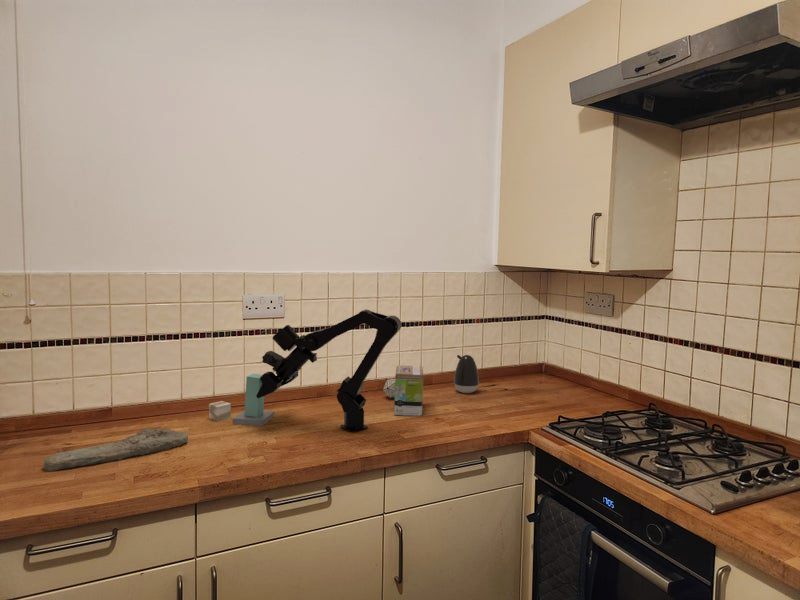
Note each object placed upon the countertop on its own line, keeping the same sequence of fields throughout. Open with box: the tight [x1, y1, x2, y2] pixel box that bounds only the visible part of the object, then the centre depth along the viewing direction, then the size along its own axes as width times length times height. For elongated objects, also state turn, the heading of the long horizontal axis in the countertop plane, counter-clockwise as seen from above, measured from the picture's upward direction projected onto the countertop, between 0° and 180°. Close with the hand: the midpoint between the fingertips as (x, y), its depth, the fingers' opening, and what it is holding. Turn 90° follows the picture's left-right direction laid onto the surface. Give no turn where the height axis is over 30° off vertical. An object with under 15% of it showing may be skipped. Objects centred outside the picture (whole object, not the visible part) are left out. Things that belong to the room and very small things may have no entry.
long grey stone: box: [43, 427, 189, 472], centre depth 144 cm, size 35×5×10 cm
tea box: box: [393, 365, 424, 417], centre depth 189 cm, size 15×10×15 cm
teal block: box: [243, 373, 265, 417], centre depth 174 cm, size 4×4×13 cm
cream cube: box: [208, 400, 232, 422], centre depth 176 cm, size 5×5×5 cm
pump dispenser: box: [453, 354, 480, 394], centre depth 215 cm, size 10×10×15 cm
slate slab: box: [232, 410, 276, 427], centre depth 175 cm, size 10×10×2 cm
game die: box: [380, 377, 395, 400], centre depth 204 cm, size 9×8×10 cm
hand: (263, 393), depth 173 cm, fingers open, 9 cm apart
